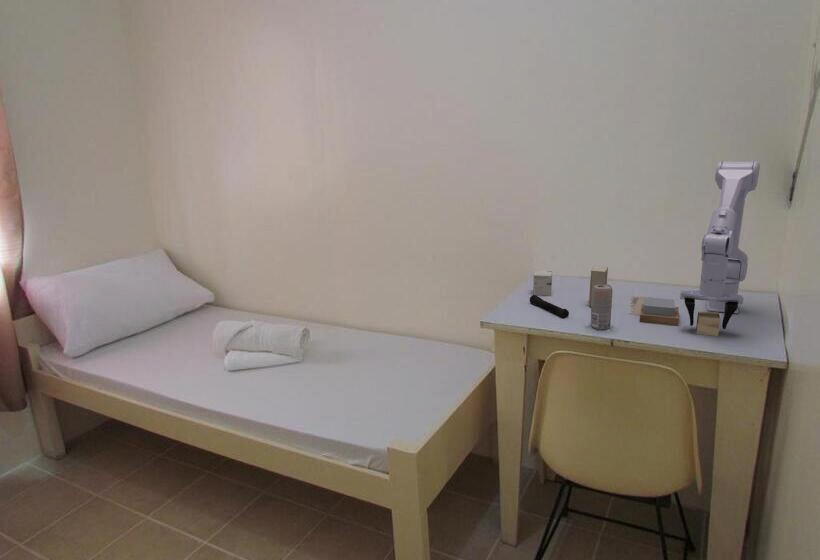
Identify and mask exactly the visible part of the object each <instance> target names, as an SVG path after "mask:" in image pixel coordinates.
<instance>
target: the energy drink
mask: <svg viewBox="0 0 820 560" xmlns="http://www.w3.org/2000/svg"><path fill="white" fill-rule="evenodd" d="M612 304H613V286H612V285H610V284H608V283H607V284H596V285H594V286H593V289H592V306H591V308H590V309H591V310H590V312H591V313H590V327H591V328H593V329H595V328H596V329H595V330H602V329H603V330H607V329H609V328H611V324H612V322H611V320H612V309H613V308H612Z"/></svg>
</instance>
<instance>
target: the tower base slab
mask: <svg viewBox="0 0 820 560" xmlns="http://www.w3.org/2000/svg"><path fill="white" fill-rule="evenodd" d="M643 312H644V304H642V307H641V313H640V316H639V323H643V324H644V323H645V324H654V325H655V324H656V325H664V326H674V327H678V326H679V321H680V312H679V307H677V306H675V313H674V316H663V315H652V314H643Z"/></svg>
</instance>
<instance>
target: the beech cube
mask: <svg viewBox="0 0 820 560" xmlns="http://www.w3.org/2000/svg"><path fill="white" fill-rule="evenodd" d="M696 317H697V318H696V323H695V324H696V326H695V329H696V335H707V336H716V337H719V333H720V324H721V316H720V312H716V311H708V310H706V311H704V310H697V316H696Z"/></svg>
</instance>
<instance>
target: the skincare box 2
mask: <svg viewBox="0 0 820 560" xmlns="http://www.w3.org/2000/svg"><path fill="white" fill-rule="evenodd" d="M608 273H609V266H605V265H594V266H593V267H592V268H591V270H590V280H589V296H588V299H589V300H588V307H591V306H592V289H593V286H594V285H596V284H607V285H608V276H609V275H608Z"/></svg>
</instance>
